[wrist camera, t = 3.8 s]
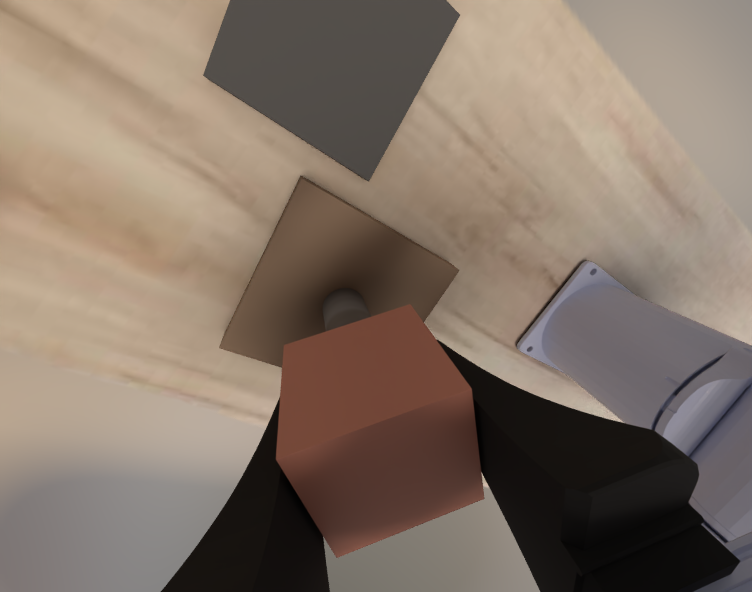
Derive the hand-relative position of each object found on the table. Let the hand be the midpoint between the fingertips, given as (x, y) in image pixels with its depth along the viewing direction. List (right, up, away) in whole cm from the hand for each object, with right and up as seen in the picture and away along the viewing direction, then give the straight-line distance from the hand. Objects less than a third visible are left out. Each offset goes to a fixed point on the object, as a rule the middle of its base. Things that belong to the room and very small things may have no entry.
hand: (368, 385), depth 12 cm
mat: (-1, +14, +2) cm, 15 cm away
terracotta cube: (0, 0, +1) cm, 1 cm away
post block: (-2, +3, +7) cm, 8 cm away
